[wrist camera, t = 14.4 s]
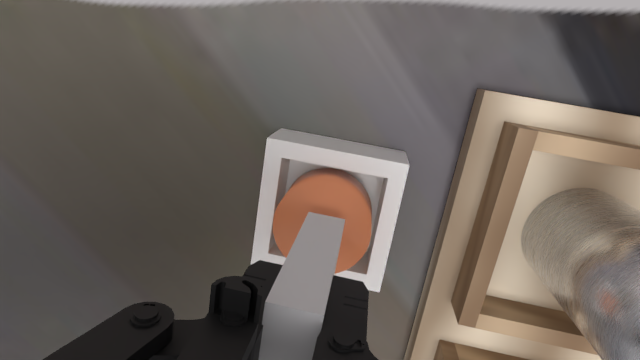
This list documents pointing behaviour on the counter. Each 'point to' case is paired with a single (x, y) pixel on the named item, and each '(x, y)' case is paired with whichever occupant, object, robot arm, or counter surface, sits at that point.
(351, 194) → the button
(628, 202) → the wooden tray
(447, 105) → the counter surface
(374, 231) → the button housing
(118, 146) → the counter surface
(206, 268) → the counter surface
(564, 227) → the billet
